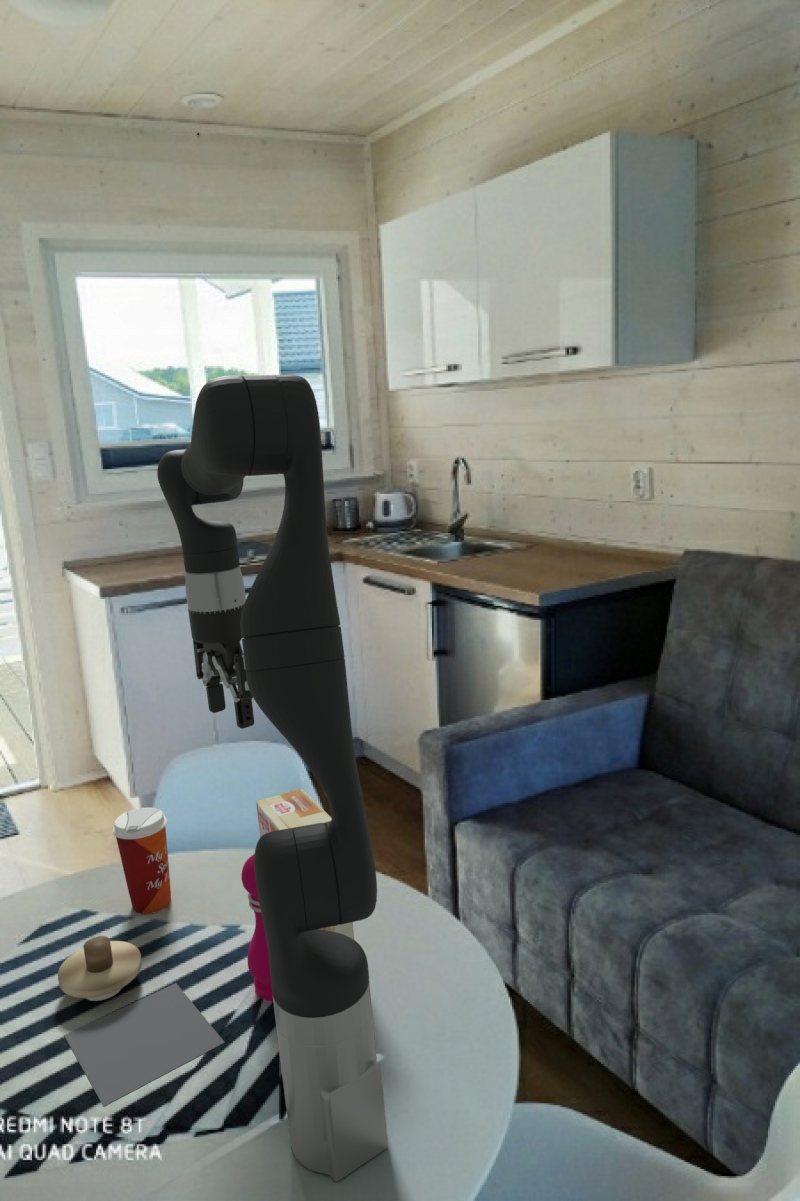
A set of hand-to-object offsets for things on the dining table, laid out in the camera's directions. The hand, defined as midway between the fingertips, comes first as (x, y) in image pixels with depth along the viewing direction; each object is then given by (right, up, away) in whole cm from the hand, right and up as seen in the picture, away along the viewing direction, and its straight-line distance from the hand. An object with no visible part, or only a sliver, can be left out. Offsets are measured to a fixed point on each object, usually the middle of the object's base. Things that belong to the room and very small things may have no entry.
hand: (231, 718), depth 119 cm
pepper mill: (+8, -33, -9) cm, 35 cm away
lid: (-15, -31, -7) cm, 35 cm away
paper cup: (-14, -29, +12) cm, 35 cm away
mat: (-7, -36, -17) cm, 40 cm away
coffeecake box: (+11, -31, -1) cm, 33 cm away
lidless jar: (-15, -34, -7) cm, 38 cm away
